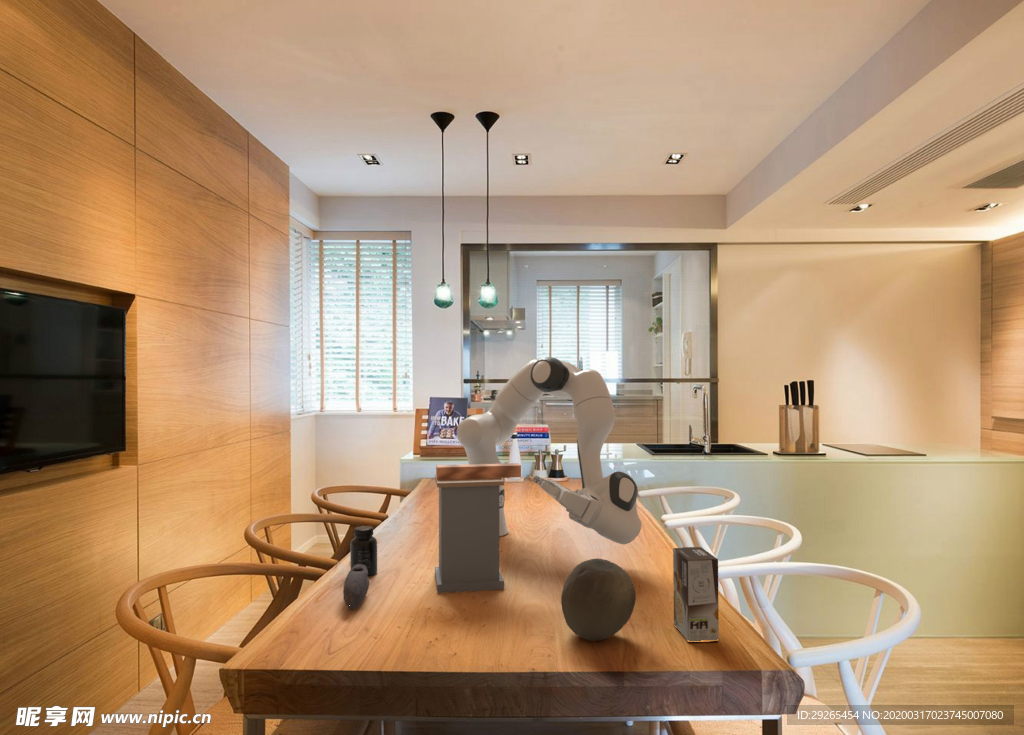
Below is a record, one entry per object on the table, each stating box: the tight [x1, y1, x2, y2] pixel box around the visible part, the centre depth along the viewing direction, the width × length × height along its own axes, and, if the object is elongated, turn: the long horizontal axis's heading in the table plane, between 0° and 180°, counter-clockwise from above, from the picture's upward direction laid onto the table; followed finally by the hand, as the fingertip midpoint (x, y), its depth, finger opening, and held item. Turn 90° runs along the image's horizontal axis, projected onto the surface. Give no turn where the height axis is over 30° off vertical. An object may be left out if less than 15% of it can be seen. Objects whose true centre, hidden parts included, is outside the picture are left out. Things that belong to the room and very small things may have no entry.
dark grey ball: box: [560, 558, 637, 642], centre depth 123 cm, size 14×14×15 cm
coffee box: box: [672, 546, 720, 641], centre depth 125 cm, size 9×6×16 cm
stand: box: [434, 473, 505, 594], centre depth 156 cm, size 16×14×26 cm
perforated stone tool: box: [342, 564, 370, 611], centre depth 142 cm, size 15×5×7 cm, turn 4°
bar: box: [435, 462, 522, 480], centre depth 157 cm, size 21×4×3 cm, turn 100°
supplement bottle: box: [349, 525, 378, 578], centre depth 162 cm, size 7×7×12 cm
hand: (537, 480), depth 159 cm, fingers open, 8 cm apart
